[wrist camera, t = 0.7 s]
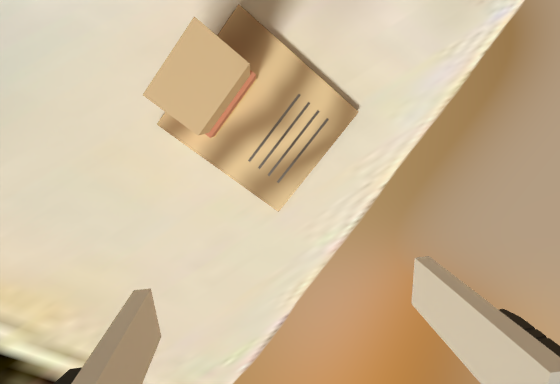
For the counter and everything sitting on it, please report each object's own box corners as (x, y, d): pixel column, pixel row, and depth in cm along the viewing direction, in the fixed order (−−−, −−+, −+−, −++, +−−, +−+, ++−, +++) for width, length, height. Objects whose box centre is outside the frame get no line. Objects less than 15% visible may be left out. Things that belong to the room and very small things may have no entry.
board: (158, 124, 32) (156, 124, 32) (239, 5, 30) (238, 3, 30) (278, 210, 37) (278, 211, 36) (357, 111, 34) (358, 111, 34)
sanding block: (170, 103, 32) (133, 95, 22) (211, 42, 30) (192, 6, 21) (215, 137, 33) (199, 144, 23) (256, 79, 32) (258, 62, 22)
